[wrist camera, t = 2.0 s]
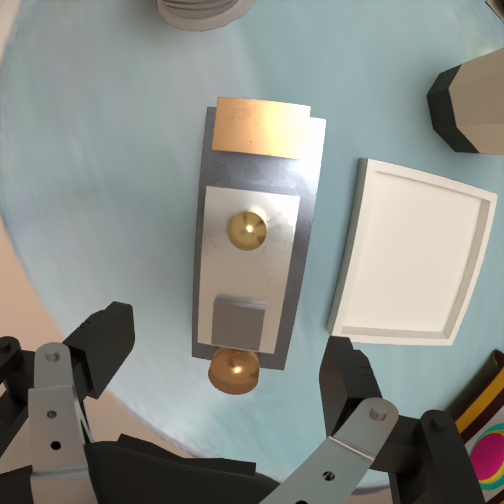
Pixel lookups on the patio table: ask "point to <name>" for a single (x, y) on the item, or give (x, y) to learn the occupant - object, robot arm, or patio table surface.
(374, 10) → the patio table surface
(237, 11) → the french press
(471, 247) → the tray
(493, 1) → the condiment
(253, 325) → the lever cap
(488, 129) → the wine bottle
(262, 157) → the plane body
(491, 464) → the decorative lantern
